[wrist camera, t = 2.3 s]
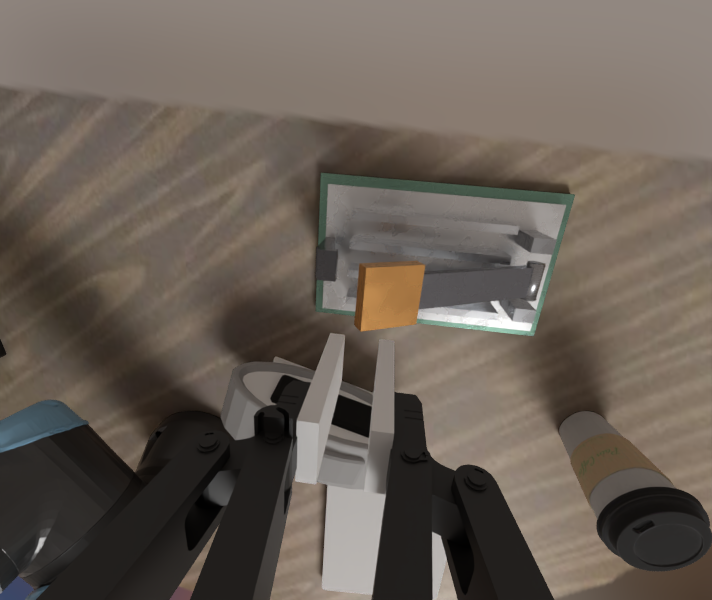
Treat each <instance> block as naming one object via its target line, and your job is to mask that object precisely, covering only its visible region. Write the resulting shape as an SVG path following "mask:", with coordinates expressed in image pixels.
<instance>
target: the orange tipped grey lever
mask: <svg viewBox="0 0 712 600" xmlns="http://www.w3.org/2000/svg"><path fill="white" fill-rule="evenodd" d="M545 266H546V264H545V263H542V262H538V261H527V265H521V266H504V267H488V268H472V269H455V270H439V271H425V264H422V263H420V262H418V261H398V262H376V263H359V274H358V286H357V298H356V309H355V321H354V325H355V326H356V327H357V328H358V329H359V330H360V331H368V330H376V329H384V328H391V327H399V326H406V325H414V324H416V322H417V316H418V310H419V309H428V308H437V307H445V306H454V305H463V304H472V303H481V302H490V301H499V300H508V299H516V298H520V299H523V300H526V301H536V298H537V294H538V291H539V287H540V283H541V280H542V276H543V273H544V269H545Z"/></svg>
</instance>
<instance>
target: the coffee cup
mask: <svg viewBox="0 0 712 600" xmlns="http://www.w3.org/2000/svg"><path fill="white" fill-rule="evenodd" d="M559 434H560V437H561V439H562V441H563V444H564V446H565V448H566V451H567V453H568V455H569V457H570V460H571V465H572V467H573V470H574V472H575V474H576V476H577V479H578V481H579V483H580V485H581V488H582V490H583V492H584V494H585V497H586V499H587V501H588V503H589V506H590V508H591V509H592V510H593V512H594V513H595V515H596V517H597V532H598V535H599V537H600V538H601V540H602V541H603V542H604V543H605V545H606V546H607V547H608V549H609V550H610V551H612V552H613V553H614V554H616V555H617V556H619V557H621V558H622V559H623V560H624V561H625V562H627V563H628V564H630V565H631V566H634V567H636V568H639V569H643V570H647V571H670V570H675V569H679V568H682V567H685V566H688V565H690V564H692V563H694V562H696V561H697V560H699V559H700V558H701V557H703V555H705V554H706V552H707V551H708V549H709V548H710V546H711V543H712V533H711V530H710V528H709V527H710V522H709V517H708V515H707V513H706V511H705V510H704V509H703V507H702V505H701V503H700V502H699V501H698V500H697V499H696V498H695V497H693V496H692V495H690V494H689V493H687V492H684V491H682V490H679V489H677V488H675V487H674V485H673V484H672V482H671V481H670V480H669V479H668V478H667V477H666V476H665V475H664V474H663V473H662V472H661V471H660V470H659V469H658V468H657V467H656V466H655V465H654V464H653V463H652V462H651V461H650V460H649V459H648V458H646V457H645V456H644V455H643V454H642V453H641V452H640V451H639V450H638V449H637V448H636V447H635V446H634V445H633V444H632V443H631V442H630V441H629V440H627V439H626V438H624V437H623V436H622V435H621V434H620V433H619V432H618V431H616V430H615V429H614V428H613V427H612V426H611V425H610V424H609V423H608V422H607V421H606V420H605V419H604V418H603V417H602V416H600V415H599V414H597V413H594V412H590V411H581V412H577V413H575V414H572V415H571V416H569V417H568V418H566V419H565V420H564V421H563V423H562V424H561V426H560V428H559Z"/></svg>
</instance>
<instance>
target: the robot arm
mask: <svg viewBox="0 0 712 600" xmlns="http://www.w3.org/2000/svg"><path fill="white" fill-rule="evenodd" d="M344 344H345V335H343V334H334V333H330V335H329V338H328V340H327V343H326V346H325V348H324V351H323V353H322V356H321V359H320V361H319V364H318V366H317V369H316V371H315V374H314V377H313V379H312V382H303V381H295V380H293V381H292V382H290V383H289V384H288V385H287V386H285V388H284V390H283V392H282V394H281V396H280V398H279V400H278V403H277V404H276V405H269V406H266V407H263V408H261V409H260V410H258V411H257V412H256V414H255V415H254V436H253V437H250V438H247V439H241V440H235V439H234V438H233V437H232V436H231V435H230V433H229V432H228V431H227V430H226V429H225V428H224V425H223V422H222V420H221V419H220V418H218V417H215V416H213V415H210V414H207V413H203V412H196V411H185V412H179V413H176V414H173V415H171V416H169V417H167V418H166V419H165V420H164V421H163V422H162V423H161V424H160V425H159V426H158V427H157V428H156V429H155V431H154V432H153V433H152V435H151V436H150V438H149V440H148V443H147V445H146V447H145V450H144V452H143V455H142V457H141V460H140V462H139V464H138V467H137V469H136V472H134V471H133V470H132V469H131V468H130V467H129V466H128V465H127V464H126V463H125V462H124V461H123V460H122V459H121V458H120V457H119V456H118V455H117V454H116V453H115V452H114V451H113V450H112V449H111V448H110V447H109V446H108V445H107V444H106V443H105V442H104V441H103V440H102V439H101V437H100V436H99V435H98V434H97V433H96V432H95V431H94V430H93V429H92V428H91V427H90V426H89V425H88V424H89V422H88V421H86V420H83V419H82V418H80V417H79V416H78V415H77V414H76V413H75V412H73V411H72V410H71V409H70V408H69V407H68V406H67V405H66V404H64V403H63V402H61V401H58V400H44V401H40V402H38V403H35V404H33V405H31V406H29V407H27V408H25V409H23V410H21V411H19V412H17V413H15V414H13V415H11V416H9V417H7V418H5V419H3V420H1V421H0V593H1V592H2V591H3V590H4V589H5V588H6V587H7V586H8V585H9V584H10V583H11V582H12V581H13V580H14V579H15V578H16V577H17V576H19V577H20V578H22V579H23V580H25V581H26V582H27V583H28V584H30V585H31V586H32V587H33V589H34V591H32V592H31V593H30V594H29V595H28V596H27V597H26V600H169V599H170V598H171V596H172V595H173V593H174V592H175V590H176V589H177V587H178V586H179V584H180V583H181V581H182V580H183V578H184V577H185V575H186V574H187V572H188V571H189V569H190V568H191V566H192V565H193V563H194V562H195V560H196V559H197V557H198V556H199V554H200V553H201V551H202V550H203V548H204V546H205V545H206V543H207V542H208V540H209V539H210V537H211V536H212V534H213V533H214V531H215V530H216V528H217V527H218V525H219V524H220V525H219V527H218V530H217V532H216V535H215V537H214V540H213V542H212V545H211V548H210V550H209V553H208V555H207V558H206V560H205V563H204V565H203V568H202V571H201V573H200V576H199V578H198V581H197V583H196V586H195V588H194V591H193V594H192V596H191V599H190V600H270V596H271V591H272V586H273V581H274V576H275V572H276V567H277V562H278V557H279V553H280V548H281V543H282V538H283V533H284V529H285V524H286V519H287V514H288V510H289V505H290V500H291V495H292V482H293V479H294V476H295V472H296V477H295V481H296V482H303V483H310V484H316V483H317V479H318V475H319V471H320V467H321V463H322V458H323V454H324V450H325V446H326V442H327V438H328V434H329V430H330V426H331V422H332V418H333V414H334V410H335V406H336V402H337V398H338V394H339V390H340V386H341V382H342V371H343V357H344ZM364 492H371V493H378V494H385V492H386V497H385V504H384V510H383V517H382V526H381V533H380V541H379V548H378V556H377V563H376V571H375V578H374V585H373V593H372V600H433V576H432V532H434V533H436V534H438V535H440V536H441V539H442V543H443V547H444V550H445V554H446V558H447V561H448V565H449V569H450V572H451V576H452V580H453V583H454V587H455V591H456V594H457V598H458V600H554V598H553V596H552V594H551V592H550V590H549V588H548V586H547V584H546V582H545V580H544V578H543V576H542V574H541V572H540V570H539V568H538V566H537V564H536V562H535V560H534V558H533V556H532V553H531V551H530V549H529V547H528V545H527V543H526V541H525V539H524V537H523V535H522V533H521V531H520V529H519V527H518V525H517V523H516V521H515V519H514V517H513V515H512V513H511V511H510V509H509V507H508V505H507V503H506V501H505V499H504V496H503V494H502V492H501V490H500V488H499V486H498V484H497V482H496V481H495V479H494V478H493V476H492V475H491V474H490V473H488V472H487V471H486V470H485V469H482V468H480V467H478V466H474V465H462V466H460V467H459V468H457V469H456V471H454V470H452V469H449V468H447V467H445V466H443V465H441V464H439V463H438V462H436V461H435V460H434V459H433V458H432V457H431V455H430V453H429V452H428V450H427V447H426V438H425V429H424V421H423V411H422V403H421V402H420V400H419V399H418V397H417V396H416V395H412V394H404V393H396V392H394V340H386V339H379V346H378V355H377V364H376V373H375V381H374V391H373V402H372V412H371V423H370V433H369V444H368V454H367V465H366V475H365V486H364Z"/></svg>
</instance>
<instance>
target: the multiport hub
mask: <svg viewBox="0 0 712 600" xmlns="http://www.w3.org/2000/svg"><path fill="white" fill-rule="evenodd" d="M5 355H6V351H5V349H4V347H3V344H2V342H1V340H0V358H1V357H3V356H5Z"/></svg>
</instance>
